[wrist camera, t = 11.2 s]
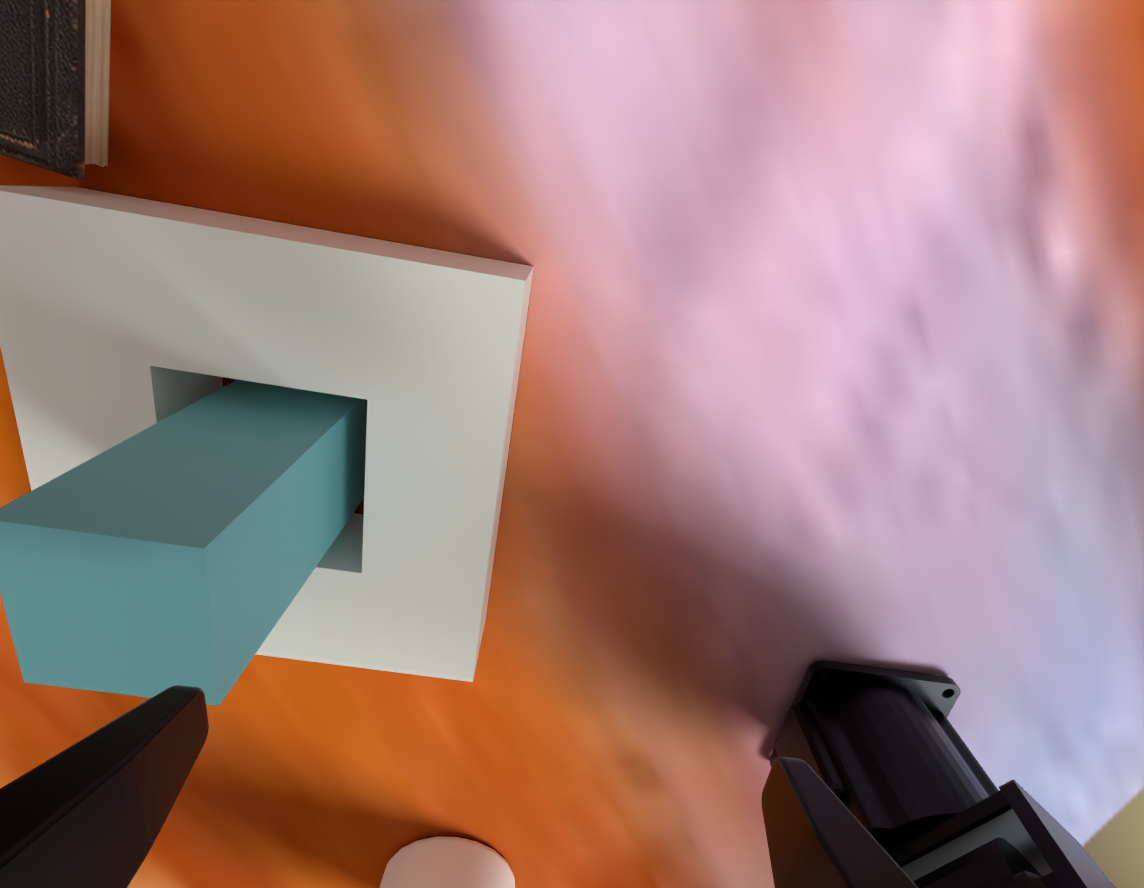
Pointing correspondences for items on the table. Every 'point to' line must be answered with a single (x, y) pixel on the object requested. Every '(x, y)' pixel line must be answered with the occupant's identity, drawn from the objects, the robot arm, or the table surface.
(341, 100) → the table surface
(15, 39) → the hardcover book
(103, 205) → the socket block
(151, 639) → the peg
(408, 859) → the white bottle
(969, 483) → the table surface
